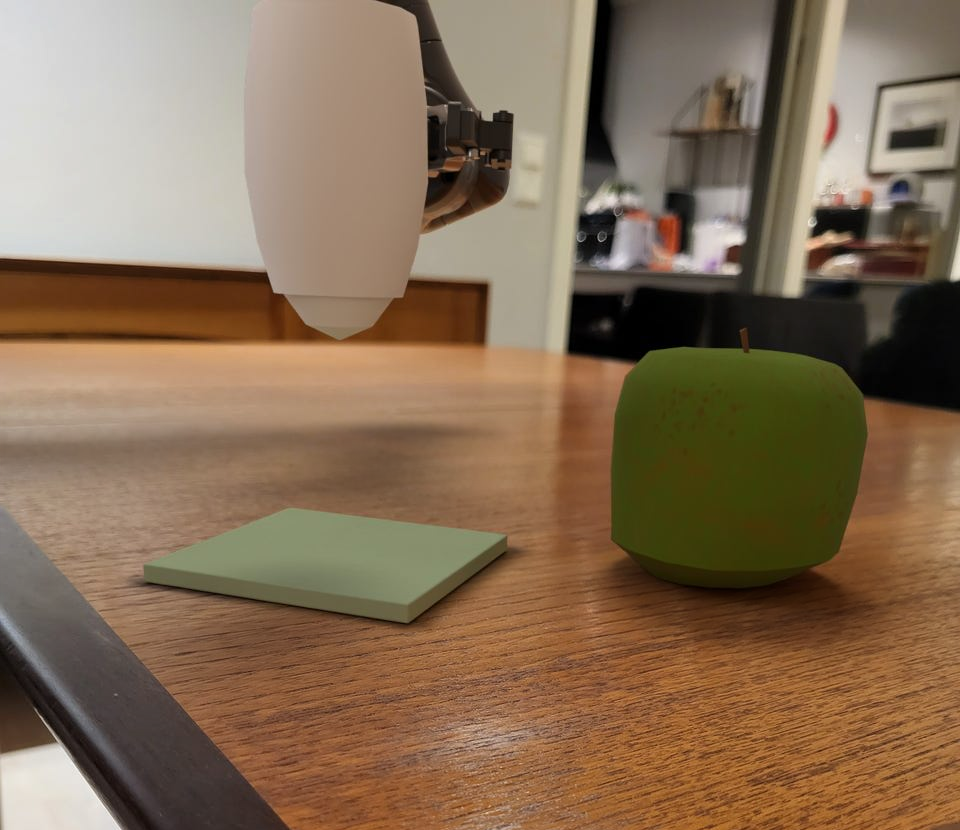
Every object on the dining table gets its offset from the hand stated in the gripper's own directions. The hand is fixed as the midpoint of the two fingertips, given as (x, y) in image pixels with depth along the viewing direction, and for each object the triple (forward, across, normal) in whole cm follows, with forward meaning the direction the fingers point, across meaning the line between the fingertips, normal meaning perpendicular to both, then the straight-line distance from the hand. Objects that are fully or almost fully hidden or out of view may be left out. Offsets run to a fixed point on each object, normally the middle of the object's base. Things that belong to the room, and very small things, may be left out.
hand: (374, 120), depth 53 cm
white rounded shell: (+16, +2, +19) cm, 25 cm away
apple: (+14, +19, +20) cm, 31 cm away
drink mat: (+16, +1, +20) cm, 26 cm away
